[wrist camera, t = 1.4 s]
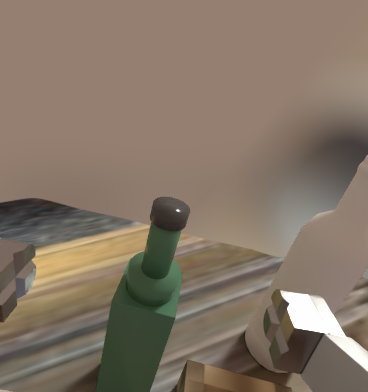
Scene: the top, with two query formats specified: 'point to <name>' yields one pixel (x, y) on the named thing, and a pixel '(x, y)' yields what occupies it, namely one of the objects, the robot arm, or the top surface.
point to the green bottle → (144, 305)
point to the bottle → (321, 260)
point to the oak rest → (221, 381)
